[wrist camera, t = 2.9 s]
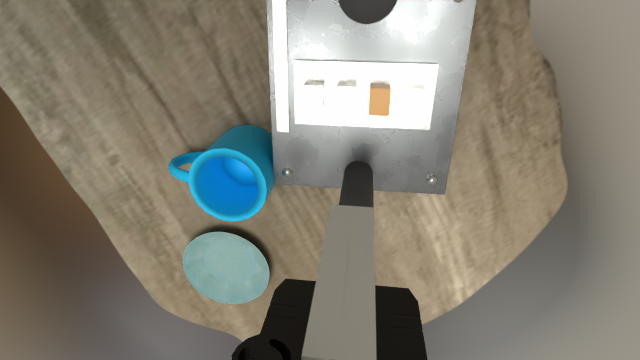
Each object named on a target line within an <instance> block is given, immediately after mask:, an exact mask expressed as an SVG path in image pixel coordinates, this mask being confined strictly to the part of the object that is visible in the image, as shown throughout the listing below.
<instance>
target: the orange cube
mask: <svg viewBox="0 0 640 360" xmlns="http://www.w3.org/2000/svg"><path fill="white" fill-rule="evenodd" d="M390 98H391V86H390V84H382V83H370V94H369V110H368V115H372V116H389V110H390Z"/></svg>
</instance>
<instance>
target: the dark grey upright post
mask: <svg viewBox="0 0 640 360" xmlns="http://www.w3.org/2000/svg"><path fill="white" fill-rule="evenodd" d="M339 205H344V206H359V207H373V171H372V169H371V167H370V166H369V165H368V164H367V163H365V162H362V161H354V162H352V163H350V164H348V165H347V167H346V168H345V170H344V176H343V182H342V189H341V195H340V202H339Z"/></svg>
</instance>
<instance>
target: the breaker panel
mask: <svg viewBox="0 0 640 360" xmlns="http://www.w3.org/2000/svg"><path fill="white" fill-rule="evenodd" d="M475 6H476V0H397V2H396V5H395V7H394V8H393V10H392V11H391V12H390V14H389V15H388V16H386V17H385V18H384V19H382V20H381V21H379V22H376V23H373V24H361V23H357V22H355V21H353V20H351V19H350V18H349V17H347V16H346V15H345V13H344V12H343V10H342V9H341V7H340V4H339V1H338V0H267V24H268V48H269V73H270V97H271V122H272V146H273V171H274V184H281V185H298V186H314V187H330V188H342V182H343V176H344V170H345V168H346V167H347V165H348V164H350V163H352V162H354V161H362V162H365V163H367V164H368V165H369V166H370V167H371V169H372V171H373V190H379V191H396V192H412V193H428V194H445V190H446V184H447V178H448V172H449V165H450V159H451V153H452V147H453V141H454V135H455V128H456V122H457V116H458V110H459V104H460V98H461V92H462V85H463V79H464V73H465V67H466V61H467V55H468V49H469V42H470V36H471V30H472V24H473V18H474V12H475ZM370 83H382V84H390V86H391V98H390V110H389V116H372V115H368V110H369V94H370Z"/></svg>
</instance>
